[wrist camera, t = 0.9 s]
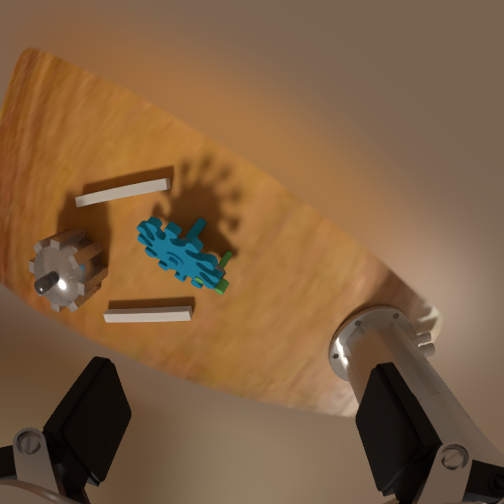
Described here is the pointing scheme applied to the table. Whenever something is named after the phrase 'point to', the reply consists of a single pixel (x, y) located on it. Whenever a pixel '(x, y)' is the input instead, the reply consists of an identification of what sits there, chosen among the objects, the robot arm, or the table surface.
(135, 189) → the guide rails
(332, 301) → the table surface
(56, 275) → the sun gear
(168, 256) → the gear
